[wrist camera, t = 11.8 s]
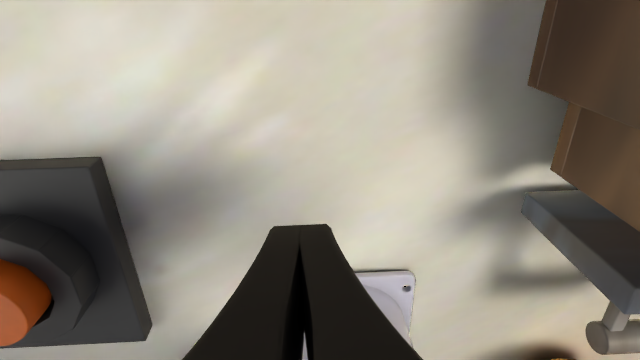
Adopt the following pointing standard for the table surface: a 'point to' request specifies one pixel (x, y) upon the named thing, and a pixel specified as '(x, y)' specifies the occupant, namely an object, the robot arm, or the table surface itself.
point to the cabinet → (591, 56)
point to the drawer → (598, 219)
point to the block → (71, 251)
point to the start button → (20, 301)
